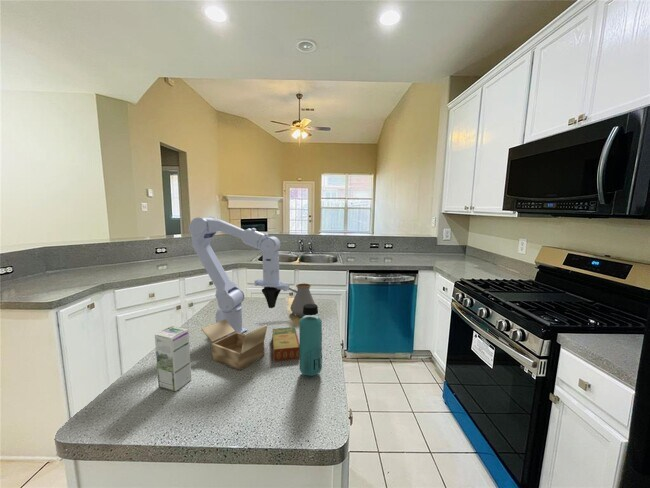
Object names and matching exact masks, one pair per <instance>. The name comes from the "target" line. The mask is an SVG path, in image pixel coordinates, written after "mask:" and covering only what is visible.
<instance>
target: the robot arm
mask: <svg viewBox="0 0 650 488" xmlns="http://www.w3.org/2000/svg"><path fill="white" fill-rule="evenodd" d="M188 232H189V233H190V237H191V246H192V248H193V250H194V252H195V253H196V255H197V257H198V258H199V260H200V262H201V264H202V265H203V268H204V269H205V271H206V273H207V274H208V277H209V278H210V280H211V281H212V283H213V285H214V286H215V288H216V292H215V295H214V296H215V298H216V300H217V306H218V309H217V310H216V312H215V323H217V322H220V321H222V320H224V319H225V320H226V321H227V322H228V323H229V324H230V326H231V327H232V328H233V329H234V330H235V332H233V333H236V332H238V333H242V334H244V333H245V332H246V331H247V332H248V329H249V328H246V327H244V326H243V305H242V303H243V302H244V300H245V293H244V291H243V290H242V289H241V288H239V286H238V285H237V284H236V283H235V282H232V280H230V277H229V276H228V275H227V272H226V271H225V269H224V267H223V266H222V264H221V262H220V260H219V257H217V254H215V252H214V250H213V248H212V246H211V242H212V240H213V238H214V237H215V235H216V234H217V233H218V232H221V233H223V234H224V233H225V234H227V235H230V236H233V237H235V238H238V239H241V242H242V243H243V244H245V245H248V246H250V247H252V248H255V249H257V250H260V252H262V279H255V280H254V286H257V287H258V286H259V287H263V288H262V289H261V292H262V294H263V295H264V297H265V300H266V304H267V306H268V308H269V309H273V308H276V304H277V299H278V297H279V294H280V293H281V291H283V292H288V291H289V288H290V284H287V283H285V282H282V281H280V257H279V256H280V251H279V250H280V248H281V245H282V244H281V243H282V242H281V240H280V239H279V238H278V237H276V236H275V235H269V234H268V233H267V232H266V233H263V232H260V231H258V230H257V228H255V227H251V228H247V229H243V228H242V227H239V226H237V225H234V224H232V223H230V222H227V221H225V220H223V219H220V218H216V217H214V216H207V217H200V216H199V217H195V218H193V219H192V220H191V221H190V223H189V226H188ZM233 333H231V334H233ZM231 334H229V335H231ZM229 335H227V336H229ZM227 336H226V337H227Z"/></svg>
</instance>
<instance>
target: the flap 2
mask: <svg viewBox="0 0 650 488" xmlns="http://www.w3.org/2000/svg"><path fill="white" fill-rule="evenodd" d="M267 329H268V324H264V325H262V326H260V327H258V328H256V329H254V330H252V331H250V332H248V333H246V334H245V335H244V340H243V345H242V350H241V353H244V352H245V351H247V350H249V349H251V348H252V347H254V346H256V345H258V344H259V343H261V342H263V341H264V342H265V340H266V339H265V338H266V333H267Z"/></svg>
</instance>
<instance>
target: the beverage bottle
mask: <svg viewBox="0 0 650 488" xmlns="http://www.w3.org/2000/svg"><path fill="white" fill-rule="evenodd" d="M318 313H319V309H318V304H316V303H315V304H306V305H304V306H303V314H305V316H304V317H300V319H299V321H298V324H299V328H298V331H299V359H298V361H299V371H300V373H301V374H302V375H305V376H311V377H312V376H316V375H319V374H320V373H321V372H322V370H323V369H322V368H323V351H322V350H323V348H322V347H323V343H322V342H323V329H322V328H323V327H322V325H323V320H322V319H321V318H320V317H319V316H318Z"/></svg>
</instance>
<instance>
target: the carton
mask: <svg viewBox="0 0 650 488" xmlns="http://www.w3.org/2000/svg"><path fill="white" fill-rule="evenodd" d="M271 338H272V350H273V351H272V354H273V355H272V356H273V358H272V359H273V362H279V361H292V360H293V361H294V360H299V344H300V340H299V337H298V334H297V328H296V327H295V326H291V327H279V328H272V337H271Z"/></svg>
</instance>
